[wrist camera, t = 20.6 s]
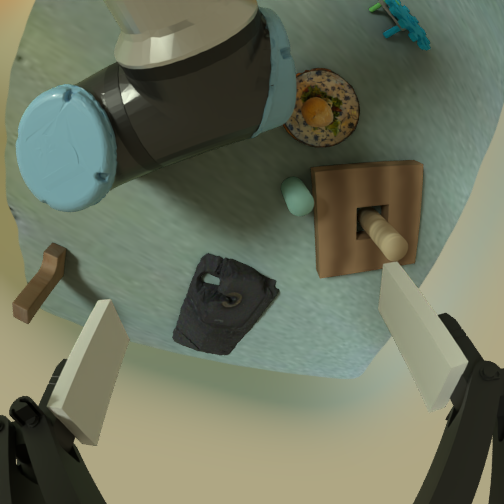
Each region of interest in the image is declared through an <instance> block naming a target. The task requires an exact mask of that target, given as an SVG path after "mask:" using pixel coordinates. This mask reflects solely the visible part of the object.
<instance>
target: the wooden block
mask: <svg viewBox="0 0 504 504" xmlns="http://www.w3.org/2000/svg"><path fill="white" fill-rule="evenodd" d="M65 256H66V248H64V247H62V246H59V245H57V244H55V243H52V244H51V245H50V246H49V247H48V248H47V249H46V250H45V251H44V255H43V262H42V266H41V267H40V269H39V271H38V273H37V274H36V275H35V276H34V277H33V278H32V280H31V281H30V282H29V283H28V284H27V286H26V287H25V288H24V289H23V291H22V292H21V293H20V294H19V296H18V297H17V298H16V299H15V300H14V302H13V303H12V305H13V316H14V317H15V318H17V319H19V320H21V321H23V322H25V323H27V324H29V323H30V321H31V320H32V318H33V317H34V315H35V314H36V312H37V311H38V309H39V308H40V307H41V305H42V304H43V302H44V301H45V300H46V298H47V297H48V295H49V294H50V293H51V291H52V290H53V289H54V287H55V286H56V285H57V283H58V282H59V281H60V279H61V278H62V277H63V274H64V264H65Z"/></svg>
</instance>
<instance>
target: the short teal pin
mask: <svg viewBox="0 0 504 504" xmlns="http://www.w3.org/2000/svg"><path fill="white" fill-rule="evenodd" d="M281 191H282V194H283V197H284V199H285V201H286V204H287V206H288V209H289V211H290V212H291V213H292V214H293V215H296V216H305V215H307V214H309V213H310V212H311V211H312V209H313V207H314V199H313V197H312V195H311V194H310V192H309V191H308V189H307V188H306V186H305V185H304V183H303V182H302V180H300V179H299V178H297V177H289V178H287V179H286V180H284V182H283V183H282V186H281Z"/></svg>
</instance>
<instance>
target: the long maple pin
mask: <svg viewBox="0 0 504 504" xmlns="http://www.w3.org/2000/svg"><path fill="white" fill-rule="evenodd" d="M357 221H358V223H359V224H360V225H361V227H362V228H363V229H364V230H365V231H366V233H367V234H368V235H369V236H370V237H371V239H372V240H373V241H374V242H375V244H376V245H377V246H378V247H379V249H380V250H381V251H382V252H383V254H384V255H385V256H386V258H387V259H388V260H390V261H398V260H400V259H402V258H403V257H404V256H405V255H406V253H407V250H408V243H407V241H406V240H405V239H404V238H403V237H402V236H401V235H400V234H399V233H398V232H397V231H396V230H395V229H394V228H393V227H392V226H391V225H390V224H389V223H388V222H387V221H386V220H385V219H384V218H383V217H382V216H381V215H380V214H379V213H378V212H377V211H376V210H375V209H374V208H373V207H371V206H368V207H362V208H361V209H360V210H359V211H358V213H357Z"/></svg>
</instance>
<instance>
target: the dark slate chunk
mask: <svg viewBox="0 0 504 504" xmlns="http://www.w3.org/2000/svg"><path fill="white" fill-rule="evenodd" d="M222 261H224V262H222ZM205 273H209V274H211V275H213V276H215V277H219V279H220V285H214V284H210V283H205V282H202V280H201V276H202V275H204V274H205ZM275 283H276V280H273V279H270V278H268V277H266V276H264V275H261V274H259V273H258V272H257V271H256V270H255V269H254V268H252V267H250V266H248V265H246V264H243V263H241V262H238V261H236V260H234V259H229V260H228V259H227V258H225V259H223V258H221V257H220V256H217V257H216V256H214V255H210V254H209V253H208V254H206V255H205V256H203V257H202V258H201V261H200V263H199V264H198V266H197V268H196V272H195V274H194V276H193V278H192V281H191V284H190V287H189V289H188V293H187V295H186V298H185V299H184V303H183V305H182V307H181V312H180V313H181V314H180V315H179V319H178V321H177V326H176V328H175V329H174V331H173V337H172V338H173V340H174V341H175V342H177V343H179V344H181V345H183V346H186V347H189V348H192V349H194V350H197V351H202V352H206V353H211V354H217V355H228V354H229V353H230V352H231V351H232V350H233V349H234V348H235V346H236V345H237V343H238V342H239V341H240V340H241V339H242V338H243V337H244V335H245V334H246V333H247V332H248V331H249V330H250V329H251V328H252V326H253V325H254V323H256V322H257V320H258V318H259V317H260V316H261V315H262V313H263V312H264V311H265V309H266V308H267V307H268V305H269V304H270V302H271V301H272V300H273V299H274V298H275V296H276V295H277V294H278V292H279V290H278V289H277V288H275Z"/></svg>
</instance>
